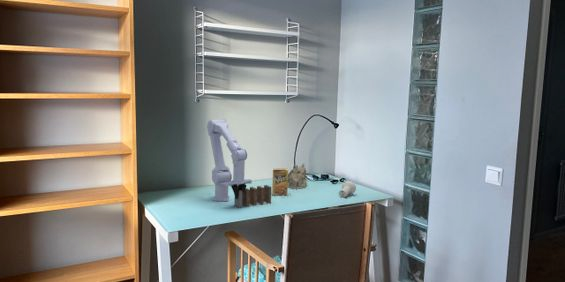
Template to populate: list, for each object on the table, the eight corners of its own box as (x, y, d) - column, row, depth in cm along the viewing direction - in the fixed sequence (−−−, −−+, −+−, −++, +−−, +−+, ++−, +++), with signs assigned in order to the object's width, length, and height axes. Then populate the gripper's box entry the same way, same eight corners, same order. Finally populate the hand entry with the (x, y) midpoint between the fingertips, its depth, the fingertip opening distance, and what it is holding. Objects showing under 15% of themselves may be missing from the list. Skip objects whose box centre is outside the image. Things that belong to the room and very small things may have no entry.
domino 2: (246, 206, 221) (247, 190, 220) (241, 204, 225) (242, 187, 224) (249, 206, 222) (249, 189, 221) (244, 204, 226) (245, 187, 225)
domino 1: (239, 208, 218) (239, 191, 217) (234, 205, 222) (234, 189, 221) (241, 207, 219) (242, 190, 218) (236, 205, 223) (237, 188, 222)
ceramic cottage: (293, 181, 281) (294, 159, 278) (312, 187, 270) (312, 164, 267) (276, 185, 271) (277, 163, 268) (294, 192, 259) (295, 168, 256)
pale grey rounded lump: (357, 192, 253) (355, 180, 251) (350, 200, 244) (347, 187, 242) (345, 192, 258) (342, 180, 256) (337, 200, 249) (334, 187, 247)
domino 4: (261, 204, 226) (261, 188, 225) (256, 202, 230) (257, 186, 229) (263, 204, 227) (264, 187, 226) (259, 201, 231) (259, 185, 230)
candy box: (272, 195, 245) (273, 169, 243) (272, 193, 249) (272, 167, 247) (287, 195, 245) (288, 169, 243) (287, 193, 250) (288, 168, 247)
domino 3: (254, 205, 223) (254, 189, 222) (249, 203, 228) (249, 187, 226) (256, 205, 224) (257, 188, 223) (251, 202, 228) (252, 186, 227)
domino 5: (268, 203, 228) (268, 187, 227) (263, 201, 233) (264, 185, 231) (270, 203, 229) (271, 187, 228) (266, 200, 233) (266, 184, 232)
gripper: (229, 175, 211) (229, 201, 213) (254, 172, 219) (254, 198, 221) (223, 172, 217) (223, 198, 219) (248, 170, 225) (247, 195, 227)
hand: (238, 198), depth 220 cm, fingers closed on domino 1, 2 cm apart
